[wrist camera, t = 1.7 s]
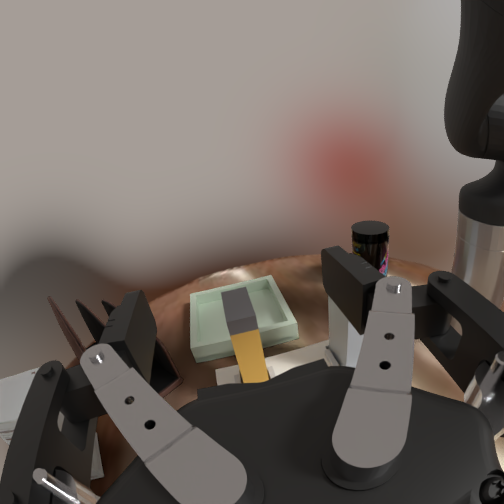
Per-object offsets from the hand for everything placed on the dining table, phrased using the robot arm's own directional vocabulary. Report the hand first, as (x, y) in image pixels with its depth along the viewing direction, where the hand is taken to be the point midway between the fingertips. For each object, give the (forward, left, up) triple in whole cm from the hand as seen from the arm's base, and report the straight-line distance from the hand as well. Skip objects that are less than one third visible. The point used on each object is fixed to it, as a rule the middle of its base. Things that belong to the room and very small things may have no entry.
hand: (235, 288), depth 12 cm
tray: (-19, -19, -22) cm, 35 cm away
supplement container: (-38, -3, -22) cm, 44 cm away
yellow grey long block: (-8, -8, -22) cm, 24 cm away
